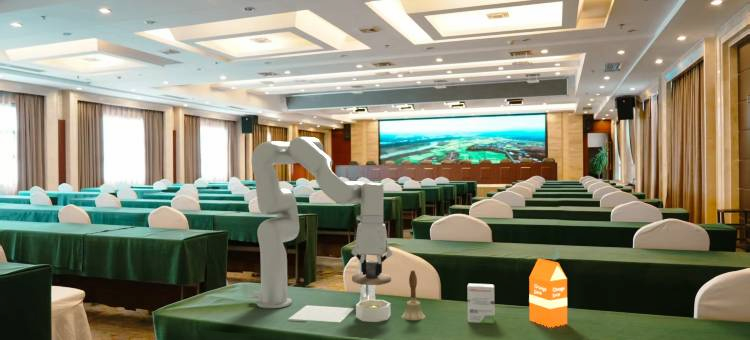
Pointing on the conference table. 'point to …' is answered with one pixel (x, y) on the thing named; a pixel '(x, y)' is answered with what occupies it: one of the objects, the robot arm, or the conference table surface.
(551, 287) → the orange juice
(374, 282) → the lid
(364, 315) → the bowl
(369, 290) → the beer glass
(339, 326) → the conference table surface
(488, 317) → the ink box
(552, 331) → the conference table surface
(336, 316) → the mat
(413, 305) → the hand bell
